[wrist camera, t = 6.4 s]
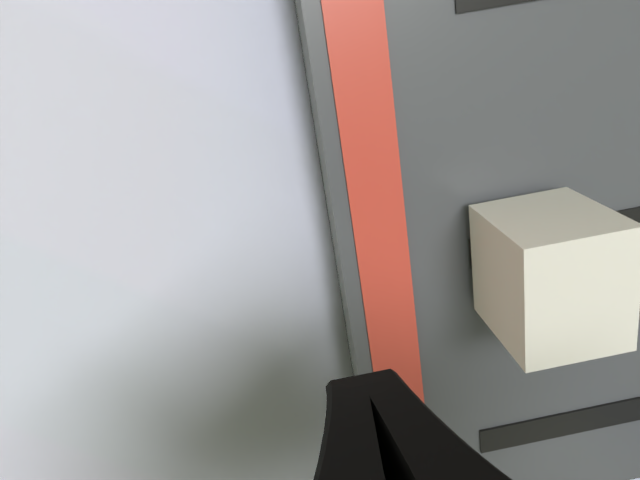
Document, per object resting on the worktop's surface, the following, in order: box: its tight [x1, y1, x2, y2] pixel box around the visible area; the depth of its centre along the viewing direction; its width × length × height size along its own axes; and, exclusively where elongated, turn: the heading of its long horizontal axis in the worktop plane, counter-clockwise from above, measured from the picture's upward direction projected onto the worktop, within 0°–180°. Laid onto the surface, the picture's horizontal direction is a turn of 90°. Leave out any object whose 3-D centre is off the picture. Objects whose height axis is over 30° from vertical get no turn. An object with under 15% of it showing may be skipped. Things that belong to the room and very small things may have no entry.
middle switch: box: [469, 187, 640, 373], centre depth 15 cm, size 4×3×4 cm
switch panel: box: [294, 0, 640, 480], centre depth 18 cm, size 22×19×2 cm
